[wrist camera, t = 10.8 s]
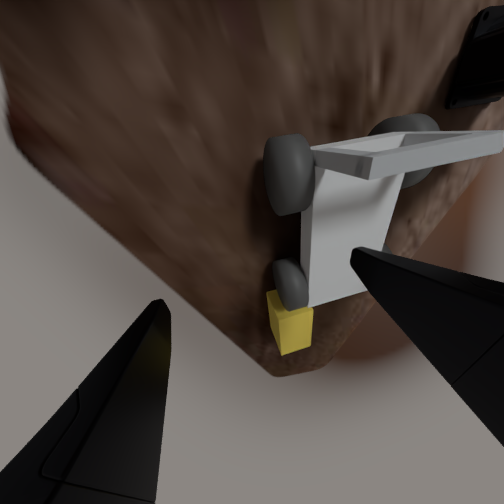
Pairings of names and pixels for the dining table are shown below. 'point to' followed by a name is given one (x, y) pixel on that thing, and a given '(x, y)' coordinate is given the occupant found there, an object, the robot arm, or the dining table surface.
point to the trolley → (353, 196)
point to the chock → (289, 325)
